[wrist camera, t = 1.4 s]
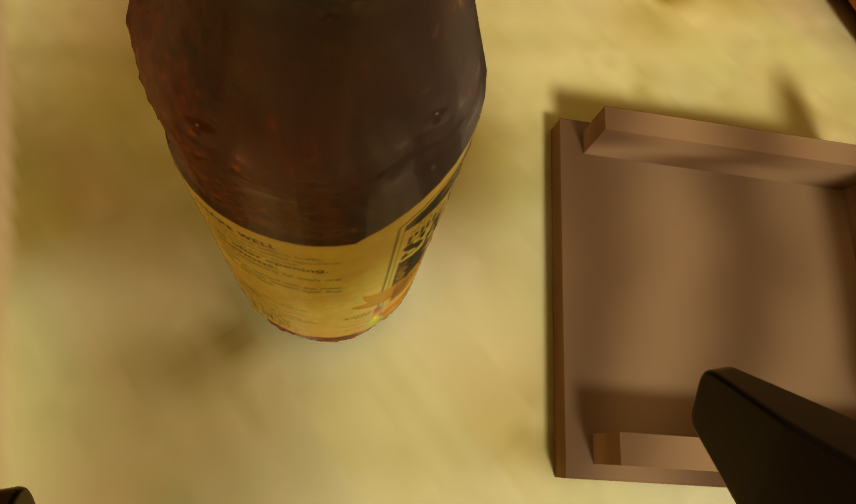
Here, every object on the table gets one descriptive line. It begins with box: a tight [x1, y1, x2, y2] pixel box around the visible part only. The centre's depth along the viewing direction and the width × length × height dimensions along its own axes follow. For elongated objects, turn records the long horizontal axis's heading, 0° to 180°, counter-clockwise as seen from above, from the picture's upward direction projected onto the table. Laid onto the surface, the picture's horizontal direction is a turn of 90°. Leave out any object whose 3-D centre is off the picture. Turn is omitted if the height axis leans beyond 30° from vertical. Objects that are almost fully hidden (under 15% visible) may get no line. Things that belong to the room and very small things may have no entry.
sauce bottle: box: [126, 0, 487, 342], centre depth 13 cm, size 7×6×20 cm
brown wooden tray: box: [551, 106, 856, 487], centre depth 22 cm, size 14×14×6 cm
